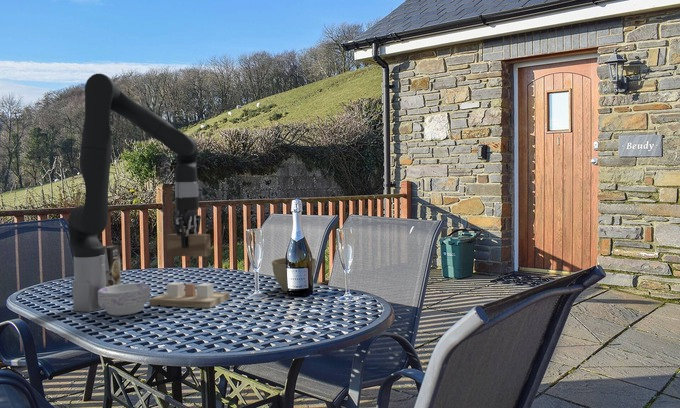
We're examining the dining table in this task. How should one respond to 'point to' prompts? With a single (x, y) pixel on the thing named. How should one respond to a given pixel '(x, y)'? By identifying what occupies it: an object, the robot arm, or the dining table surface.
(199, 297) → the display stand
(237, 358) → the dining table surface
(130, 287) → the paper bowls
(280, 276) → the planter bowl
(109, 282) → the coffee box
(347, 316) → the dining table surface
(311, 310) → the dining table surface
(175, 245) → the walnut bar
